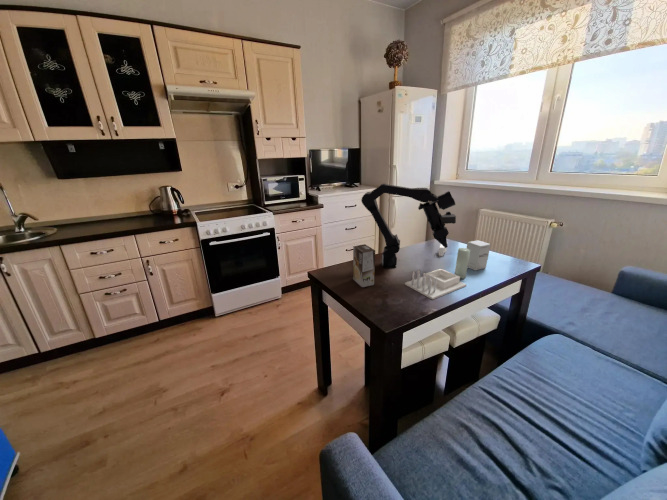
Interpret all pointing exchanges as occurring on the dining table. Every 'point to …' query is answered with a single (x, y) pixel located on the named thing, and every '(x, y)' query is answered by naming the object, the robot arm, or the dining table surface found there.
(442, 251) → the napkin holder
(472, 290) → the dining table surface
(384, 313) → the dining table surface
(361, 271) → the coffee box
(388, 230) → the robot arm
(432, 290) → the dish drying rack
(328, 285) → the dining table surface
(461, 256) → the sage green domed cylinder
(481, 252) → the supplement box
